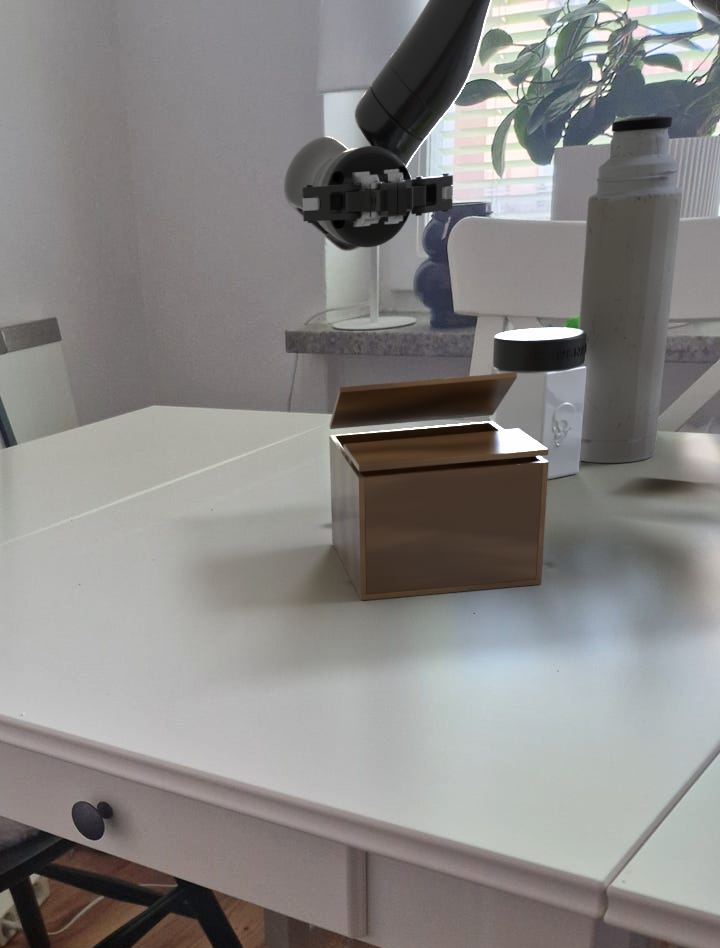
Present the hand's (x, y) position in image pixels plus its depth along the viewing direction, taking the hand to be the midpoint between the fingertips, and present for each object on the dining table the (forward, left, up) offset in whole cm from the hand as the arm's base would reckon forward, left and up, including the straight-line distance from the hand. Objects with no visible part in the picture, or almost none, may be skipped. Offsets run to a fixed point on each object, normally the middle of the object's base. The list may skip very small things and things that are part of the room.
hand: (397, 199), depth 87 cm
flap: (+7, +6, -13) cm, 16 cm away
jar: (-19, +3, -24) cm, 31 cm away
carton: (+10, +9, -24) cm, 27 cm away
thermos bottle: (-28, +7, -24) cm, 38 cm away
